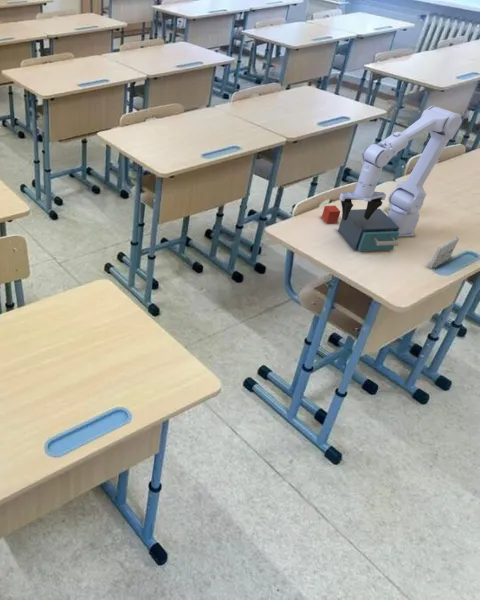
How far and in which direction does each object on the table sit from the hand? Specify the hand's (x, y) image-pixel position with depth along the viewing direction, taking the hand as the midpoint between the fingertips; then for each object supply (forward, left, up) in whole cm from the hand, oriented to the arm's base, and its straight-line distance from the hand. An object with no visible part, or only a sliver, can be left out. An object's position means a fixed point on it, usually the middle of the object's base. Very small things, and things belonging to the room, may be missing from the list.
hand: (355, 218), depth 188 cm
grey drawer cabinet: (-7, -2, -10) cm, 13 cm away
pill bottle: (-29, -21, -10) cm, 37 cm away
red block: (-1, -17, -10) cm, 20 cm away
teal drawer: (-7, +2, -9) cm, 12 cm away
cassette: (-26, +13, -10) cm, 31 cm away
